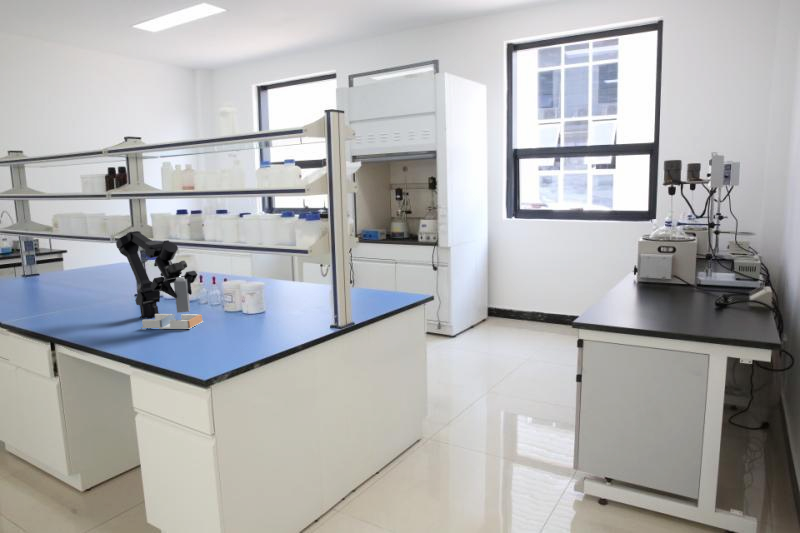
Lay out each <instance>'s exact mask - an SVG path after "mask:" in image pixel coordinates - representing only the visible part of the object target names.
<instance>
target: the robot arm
mask: <svg viewBox="0 0 800 533" xmlns="http://www.w3.org/2000/svg"><path fill="white" fill-rule="evenodd" d="M115 243H116V244H115V245H116V248H117V249H118V251H119V252H120V254H121V255H122V256H124V257H125V258H126V259H127V261H128V263H129V266H130V268H131V271H132V273H133V275H134V277H135V280H136V282H137V285H138V288H137V295H136V297H135V303H136V305H137V306H139V308H140V316H139V317H140V318H139V319H153V318H155V314H161V313H159V306H158V305H157V304H158V303H160V301H161V300H160V299H161V292H163V293H165V294H167V295H169V296H171V297H172V298H174V299H176V298H177V295H176V293H175V289H174V288H173V287H172V286H171V285H172V284H174V281H175V280H176V278H179V277H184V279H187V284H188V293H189V295H190V296H192V294H193V292H192V286H191V284H193V283H194V282H195V281H196V279H197V277H198V273H197V271H195V270H189V271H186V272H185V274H184V275H182V271H184V270H185V269H186V268H188V264H187V262H186V260H180V261H179V262H174V263H173V262H172V260H173V259H174V258H175V256H176V253H177V252H178V250H179V247H178V244H176V243H174V242H171V241H170V240H163V242H161V241H153V240H152V239H150V238H148V237H147V236H145V235H143V234H142V233H141V231H140V230H134V231H128V232H127V233H126V234H125V235H123V236H121V237H119V238H118V239H117V241H116V242H115ZM140 248H141V249H143V250H144V254H145V256H147V257H148V258H149V259H152V258H154V259H155V260H154V263H153V267H157V268H158V270H159V271H160V276H158V277H154V278H153V279H152V281H151V280H150V278H149V276H148V274H147V271H146V270H145V267H144V264H143V262H142V260H141V258H140V256H139V249H140ZM181 275H182V276H181ZM141 317H142V318H141ZM152 317H153V318H152Z"/></svg>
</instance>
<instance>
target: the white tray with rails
mask: <svg viewBox="0 0 800 533" xmlns="http://www.w3.org/2000/svg"><path fill="white" fill-rule="evenodd" d="M180 316H181V317H180V318H181V319H176V314H175V313H160V314H155V317H154V319H146V318H143V319H142V320H141V322H142V326H141V327H140V329H141V328H159V329H190V328H192V327H194V326H196V325H198V324H200V323H202V322H203V323H204V320H203V315H202V314H196V313H195V314H193V313H191V314H186V313H185V314H184V313H183V314H180ZM203 323H202V324H203ZM200 325H201V324H200ZM198 326H199V325H198ZM196 327H197V326H196ZM194 328H195V327H194Z"/></svg>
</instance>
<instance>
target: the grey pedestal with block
mask: <svg viewBox="0 0 800 533" xmlns="http://www.w3.org/2000/svg"><path fill="white" fill-rule="evenodd" d="M173 287H174V288H173V290H174V292H175V293H176V295H177V298H175V304H176V306H175V307H176V313H189V312H190V310H191V305H190V304H191V302H190V296H189V295H190V294H189V293H188V284H187V279H184V277H179V278H176V280H175V281H174V283H173Z"/></svg>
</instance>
